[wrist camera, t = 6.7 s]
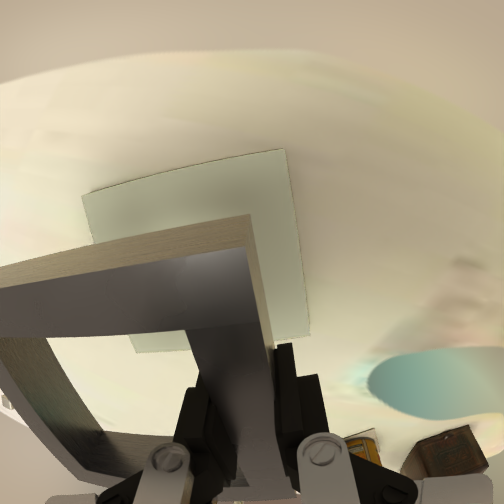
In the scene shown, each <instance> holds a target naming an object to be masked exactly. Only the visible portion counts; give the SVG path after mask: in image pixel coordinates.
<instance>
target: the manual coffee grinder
mask: <svg viewBox="0 0 504 504" xmlns="http://www.w3.org/2000/svg"><path fill="white" fill-rule="evenodd" d="M488 467H489V465H488V462H487V460H486V458H485V456H484V454H483V452H482V450H481V448H480V446H479V444H478V442H477V441H476V439H475V437H474V435H473V433H472V431H471V430H470V427H469V425H467V426H464V427H461V428H458V429H454V430H451V431H448V432H445V433H442V434H440V435H437V436H434V437H431V438H428V439H426V440H424V441H421V442H419V443H417V444H416V446H415V447H414V448H413V449H412V450H411V452H410V454H409V455H408V457H407V459H406V460H405V462H404V464H403V466H402V468H401V471H400V474H402V475H404V476H407V477H409V478H410V479H412V480H424V478H432V477H447V476H458V475H467V474H475V473H480V474H483V473H484V471H485V470H486V469H487V468H488Z"/></svg>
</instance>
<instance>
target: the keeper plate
mask: <svg viewBox="0 0 504 504" xmlns="http://www.w3.org/2000/svg"><path fill="white" fill-rule="evenodd" d="M81 197H82V201H83V204H84V208H85V212H86V216H87V219H88V223H89V227H90V230H91V233H92V237H93V240H94V243H95V244H98V243H102V242H107V241H111V240H116V239H121V238H125V237H130V236H135V235H140V234H145V233H150V232H155V231H160V230H165V229H170V228H175V227H180V226H185V225H190V224H196V223H201V222H206V221H212V220H217V219H223V218H229V217H234V216H240V215H246V214H250V216H251V221H252V227H253V232H254V238H255V243H256V248H257V254H258V259H259V264H260V270H261V275H262V281H263V286H264V291H265V297H266V302H267V308H268V313H269V318H270V324H271V329H272V335H273V340H274V341H278V340H285V339H292V338H298V337H305V336H310V327H309V317H308V308H307V299H306V291H305V283H304V275H303V267H302V259H301V251H300V244H299V237H298V230H297V223H296V216H295V209H294V203H293V196H292V190H291V184H290V177H289V171H288V165H287V160H286V154H285V149H277V150H271V151H265V152H259V153H253V154H248V155H242V156H237V157H232V158H226V159H221V160H216V161H212V162H207V163H202V164H198V165H193V166H189V167H184V168H180V169H176V170H172V171H167V172H163V173H159V174H155V175H152V176H148V177H144V178H140V179H136V180H133V181H129V182H126V183H122V184H118V185H115V186H112V187H108V188H105V189H102V190H98V191H95V192H92V193H89V194H86V195H83V196H81ZM128 336H129V338H130V340H131V343H132V345H133V347H134V349H135V351H136V353H152V352H170V351H185V350H191V347H190V344H189V341H188V338H187V336H186V333H185V330H179V331H168V332H156V333H143V334H129V335H128Z"/></svg>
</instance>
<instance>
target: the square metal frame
mask: <svg viewBox="0 0 504 504" xmlns="http://www.w3.org/2000/svg"><path fill="white" fill-rule="evenodd" d="M179 330H185V333H186V336H187V338H188V341H189V344H190V347H191V350H192V352H193V355H194V358H195V361H196V363H197V366H198V369H199V371H200V374H201V377H202V379H203V382H204V384H205V387H206V389H207V392H208V394H209V397H210V399H211V402H212V404H213V406H214V405H216V407H217V410H218V412H219V415H220V417H221V420H222V422H223V424H224V427H225V429H226V431H227V434H228V436H229V438H230V441H231V443H232V445H233V447H234V450H235V452H236V454H237V456H238V457H237V470H236V479H235V480H231V484H230V487H223V492H222V493H220V494H219V495H217V496H218V501H262V500H278V499H289V498H296V490H294V489H293V488H292V486H291V482H290V477H286V476H285V472H284V468H283V464H282V460H281V456H280V452H279V448H278V444H277V440H276V435H275V425H274V400H276V387H275V365H274V349H275V346H274V340H273V335H272V329H271V324H270V318H269V313H268V308H267V302H266V297H265V291H264V286H263V281H262V275H261V270H260V264H259V259H258V254H257V248H256V243H255V238H254V232H253V227H252V221H251V216H250V214H246V215H240V216H234V217H229V218H223V219H217V220H212V221H206V222H201V223H196V224H190V225H185V226H180V227H175V228H170V229H165V230H160V231H155V232H150V233H145V234H140V235H135V236H130V237H125V238H121V239H116V240H111V241H107V242H102V243H98V244H93V245H89V246H84V247H80V248H76V249H71V250H67V251H63V252H58V253H54V254H50V255H46V256H42V257H38V258H34V259H30V260H26V261H22V262H18V263H14V264H10V265H6V266H2V267H0V388H1V390H2V391H3V393H4V394H5V396H6V397H7V399H8V400H9V401H10V403H11V404H12V406H13V407H14V408H15V410H16V411H17V412H18V414H19V415H20V416H21V418H22V419H23V420H24V421H25V423H26V424H27V425H28V426H29V428H30V429H31V430H32V431H33V432H34V434H35V435H36V436H37V437H38V438H39V439H40V441H41V442H42V443H43V444H44V445H45V446H46V447H47V448H48V450H49V451H50V452H51V453H52V454H53V455H54V456H55V457H56V458H57V459H58V460H59V461H60V462H61V463H62V464H63V465H64V466H65V467H66V468H67V469H68V470H69V471H70V472H71V473H72V474H73V475H74V476H75V477H76V478H77V479H78V480H80V481H84V482H87V483H91V484H95V485H99V486H103V487H107V488H110V487H112V486H114V485H116V484H118V483H120V482H122V481H123V480H125V479H127V478H129V477H131V476H132V475H134V474H136V473H138V472H139V471H141V470H143V469H144V467H145V464H146V461H147V458H148V456H149V454H150V452H151V451H152V450H153V449H154V448H155V447H157V446H159V445H160V444H164V443H168V442H172V441H173V437H174V436H154V435H140V434H129V433H119V432H111V431H103V429H102V428H101V427H100V425H99V424H98V422H97V421H96V420H95V418H94V417H93V415H92V414H91V413H90V411H89V410H88V408H87V407H86V405H85V404H84V402H83V401H82V399H81V398H80V396H79V395H78V393H77V392H76V390H75V389H74V387H73V385H72V384H71V382H70V381H69V379H68V377H67V376H66V374H65V372H64V370H63V369H62V367H61V365H60V364H59V362H58V360H57V358H56V356H55V355H54V353H53V351H52V349H51V347H50V345H49V343H48V341H47V339H46V338H55V337H90V336H112V335H129V334H143V333H156V332H168V331H179Z"/></svg>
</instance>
